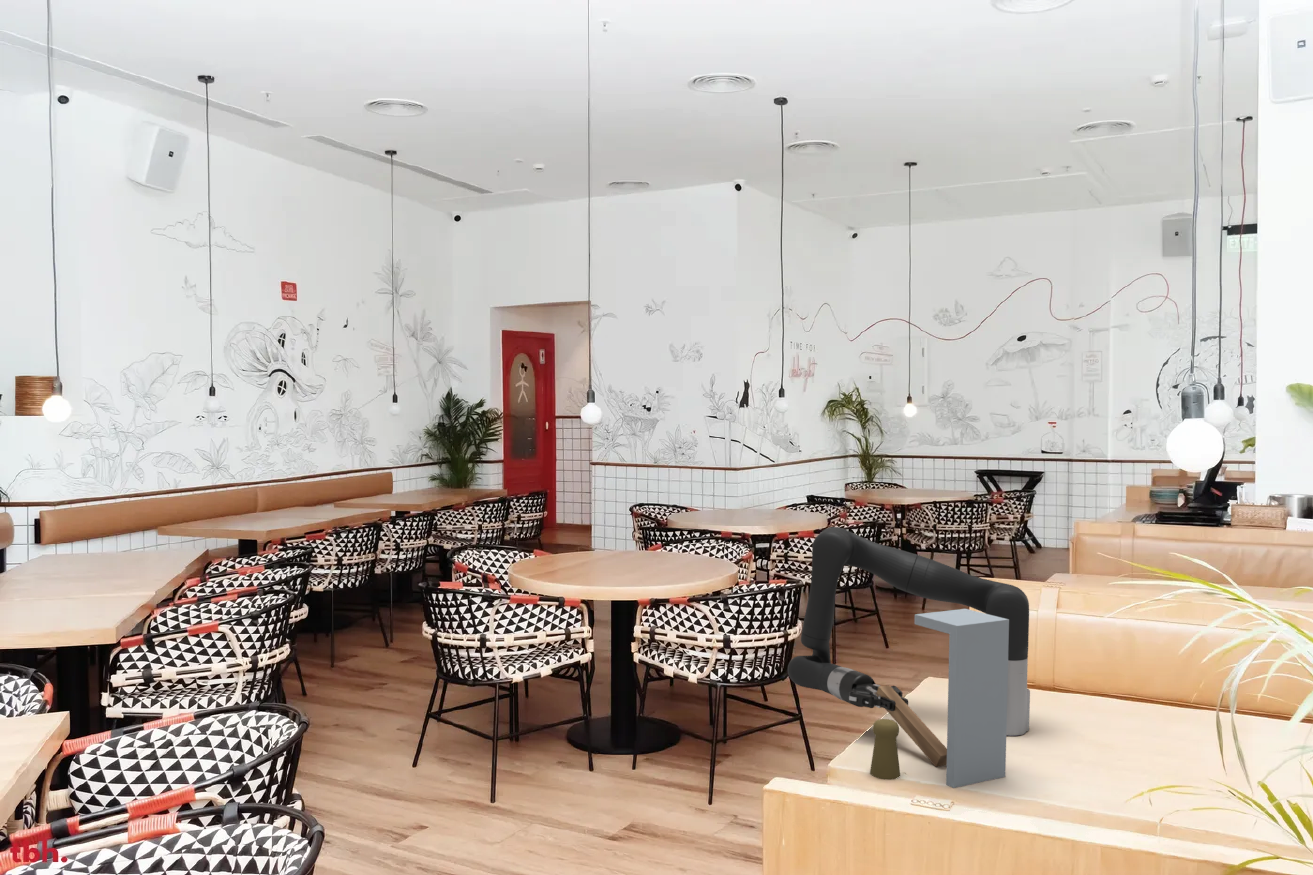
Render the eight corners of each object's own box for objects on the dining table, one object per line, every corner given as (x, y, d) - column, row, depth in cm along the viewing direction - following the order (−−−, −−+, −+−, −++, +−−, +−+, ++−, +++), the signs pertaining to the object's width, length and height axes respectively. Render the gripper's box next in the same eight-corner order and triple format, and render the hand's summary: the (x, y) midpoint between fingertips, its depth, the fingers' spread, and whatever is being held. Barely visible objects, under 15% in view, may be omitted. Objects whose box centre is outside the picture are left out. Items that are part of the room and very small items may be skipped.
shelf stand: (962, 758, 222) (965, 608, 221) (1005, 776, 212) (1009, 619, 211) (911, 768, 216) (914, 614, 215) (953, 788, 205) (957, 625, 204)
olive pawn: (900, 780, 209) (901, 726, 209) (869, 778, 210) (870, 723, 210) (899, 770, 215) (900, 717, 214) (869, 767, 216) (870, 715, 216)
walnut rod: (885, 695, 236) (889, 684, 234) (946, 764, 218) (951, 753, 217) (874, 697, 234) (878, 686, 233) (936, 767, 217) (940, 756, 216)
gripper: (827, 673, 241) (875, 692, 225) (875, 667, 247) (925, 684, 232) (826, 705, 241) (875, 726, 226) (874, 698, 247) (925, 718, 232)
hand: (900, 705), depth 229 cm, fingers closed on walnut rod, 3 cm apart
